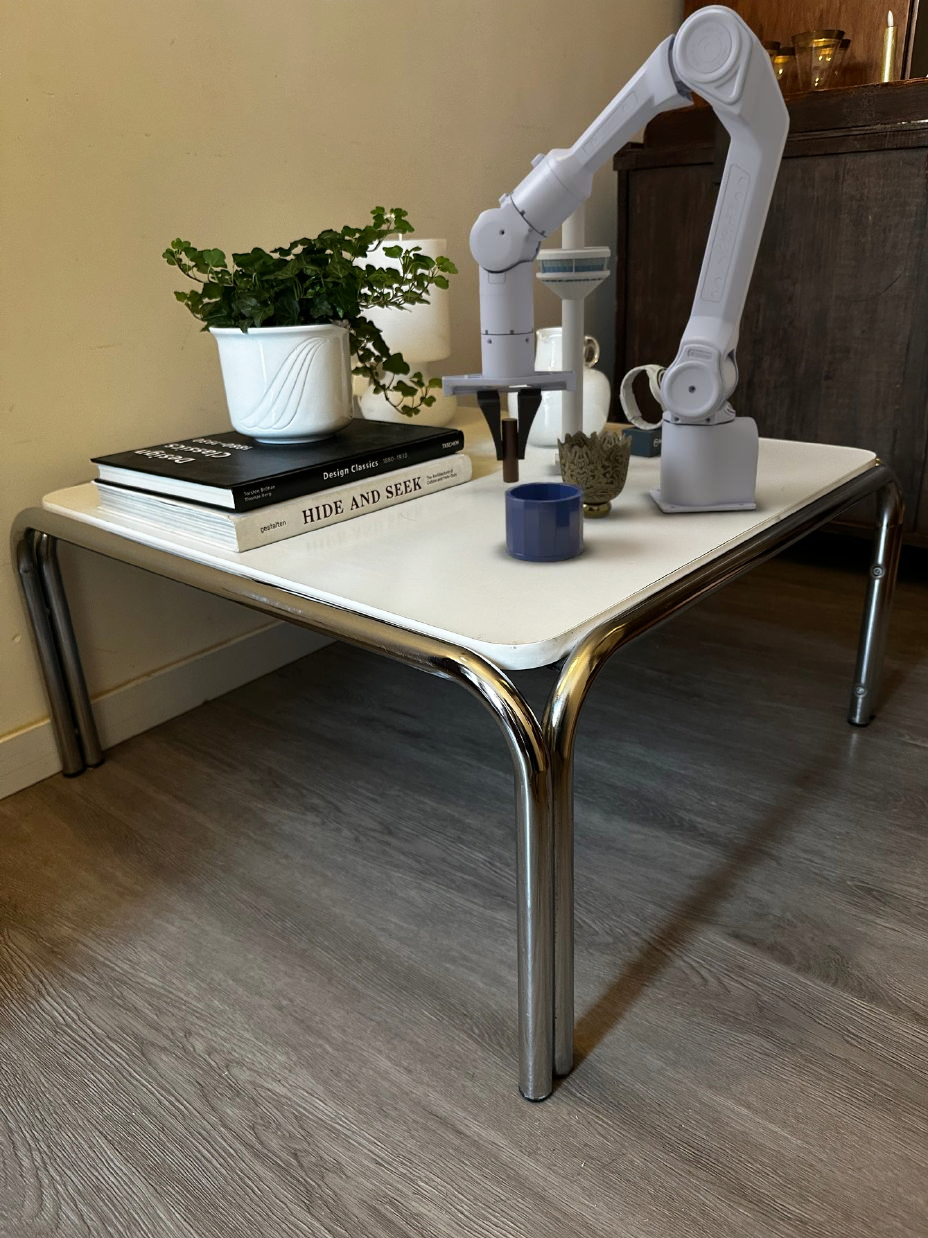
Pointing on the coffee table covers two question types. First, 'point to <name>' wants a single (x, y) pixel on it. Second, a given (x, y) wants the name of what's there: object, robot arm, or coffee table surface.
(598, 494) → the cup
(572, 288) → the model tower
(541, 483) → the cup
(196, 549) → the coffee table surface
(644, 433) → the watch
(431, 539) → the coffee table surface
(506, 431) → the brown cylinder
